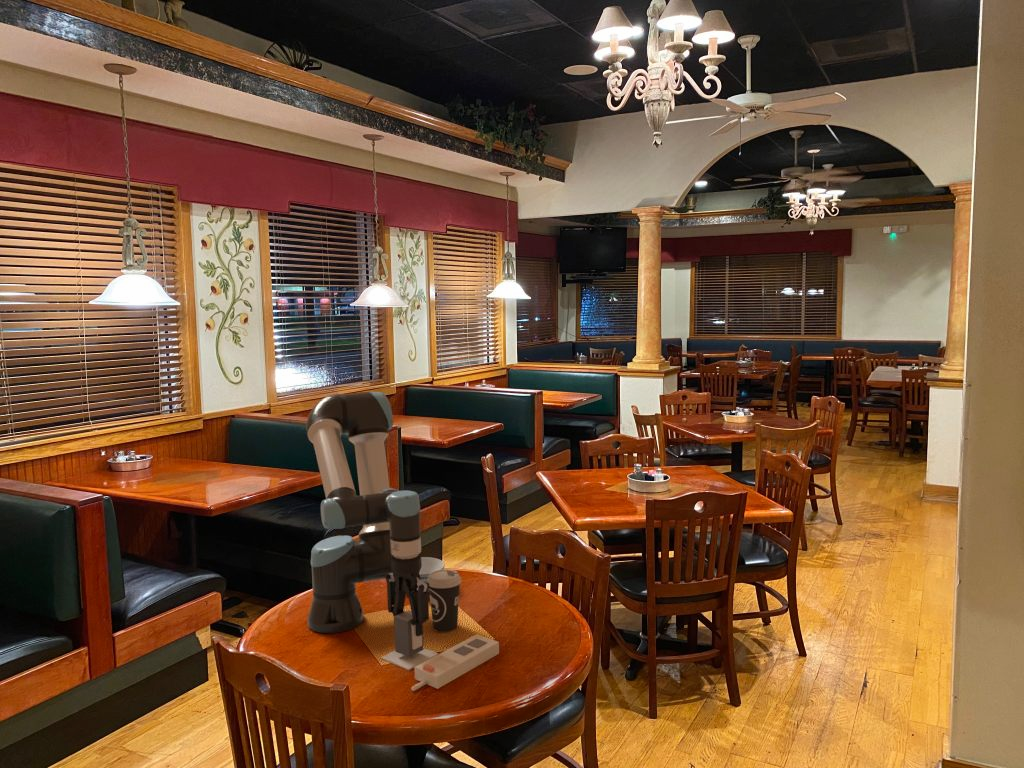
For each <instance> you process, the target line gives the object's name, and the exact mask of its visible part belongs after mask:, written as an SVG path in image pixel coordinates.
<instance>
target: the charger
mask: <svg viewBox="0 0 1024 768" xmlns="http://www.w3.org/2000/svg"><path fill="white" fill-rule="evenodd" d="M411 623H413V617H412V612H411V610H406V611H404V612H403V613H401V614H399V615H397V616H395V617H394V616H393V626H394V627H393V628H394V629H393V631H394V651H395V652H398V653H400V654H403V655H405V656H407V657H410V656H412V655H414V654H416V653H418V652H420V651H422V650H424V634H423V635H422V646H420V647H418V648H416V649H412V629H411Z"/></svg>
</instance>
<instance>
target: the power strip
mask: <svg viewBox="0 0 1024 768" xmlns="http://www.w3.org/2000/svg"><path fill="white" fill-rule="evenodd" d="M499 654H500V642H499V641H497V640H495V639H491V638H489V637H485V636H482V635H480V634H475V635H473V636H470V637H468V638H466V639H464V640H463V641H461V642H460V643H458V644H455V645H454V646H452V647H450V648H448V649H446V650H444V651H442V652H441V653H438V655H436V656H435V657H433V658H431V659H429V660H427V661H425V662H423V663H421V664H419V665H417V666H416V667H415V668H414V680H416V681H419V683H416V684H414V685H413V686H412V687H411V691H412V692H415V691H417V690H419V689H420V688H422V687H424V686H425V685H428V686H430V687H432V688H435V689H437V690H438V689H440V688H441V687H443V686H446V685H447V684H449V683H450V682H452V681H454V680H455V679H458V678H459V677H461V676H462V675H464V674H466V673H468V672H470V671H472V670H474V668H476V667H479V666H480V665H482V664H483V663H485V662H487V661H489V660H491V659H492V658H494V657H495V656H497V655H499Z"/></svg>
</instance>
